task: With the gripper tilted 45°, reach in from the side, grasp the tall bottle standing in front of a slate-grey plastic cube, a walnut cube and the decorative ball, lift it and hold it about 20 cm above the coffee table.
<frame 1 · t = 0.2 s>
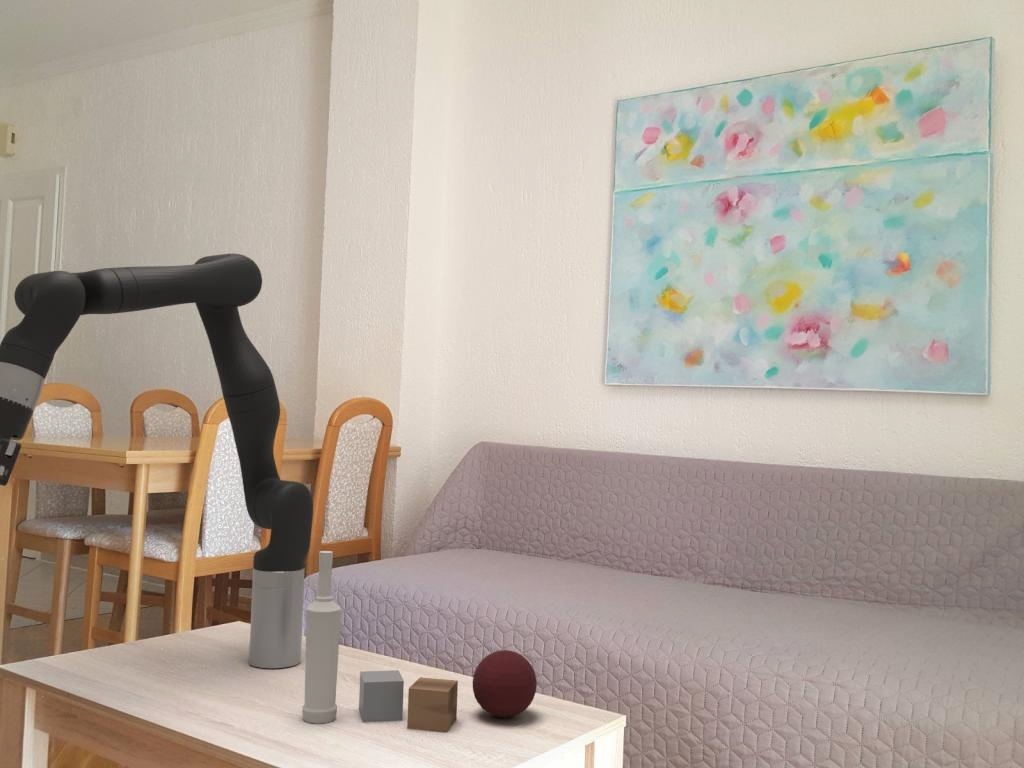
bottle: (319, 719, 140), on the table
slate grey cube: (380, 715, 143), on the table
walnut cube: (432, 724, 139), on the table
decorative ball: (503, 717, 144), on the table
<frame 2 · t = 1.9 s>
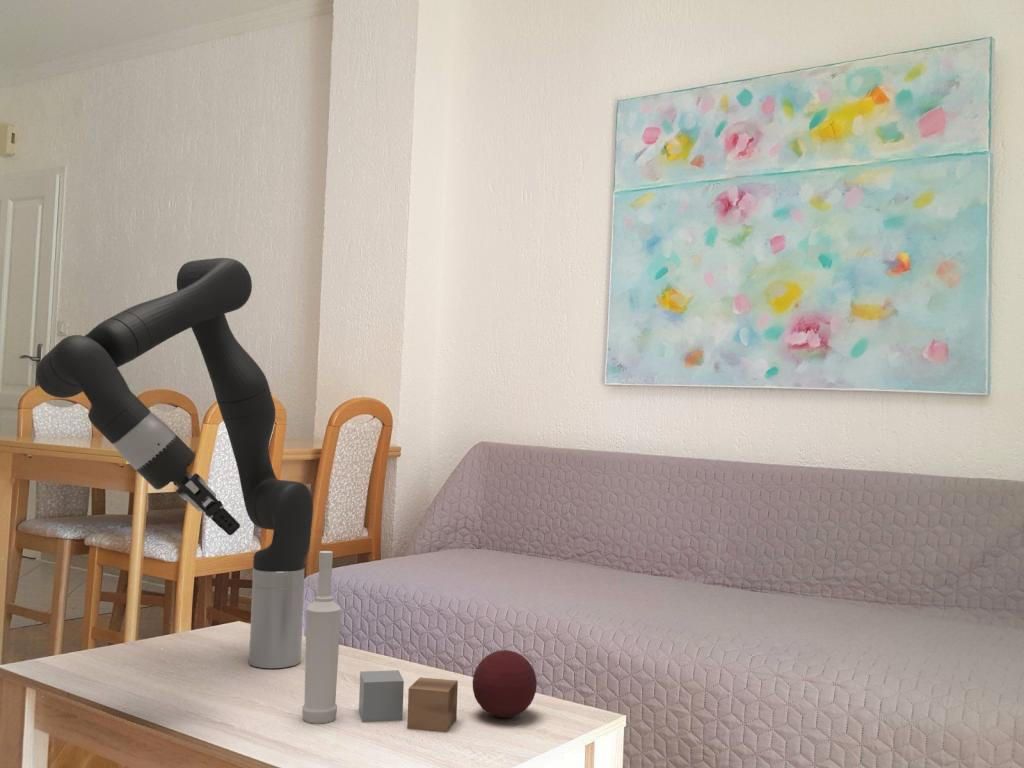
hand: (231, 527, 141), 28 cm above the table, tool tilted 45°, fingers open, 8 cm apart
nothing on the table moved.
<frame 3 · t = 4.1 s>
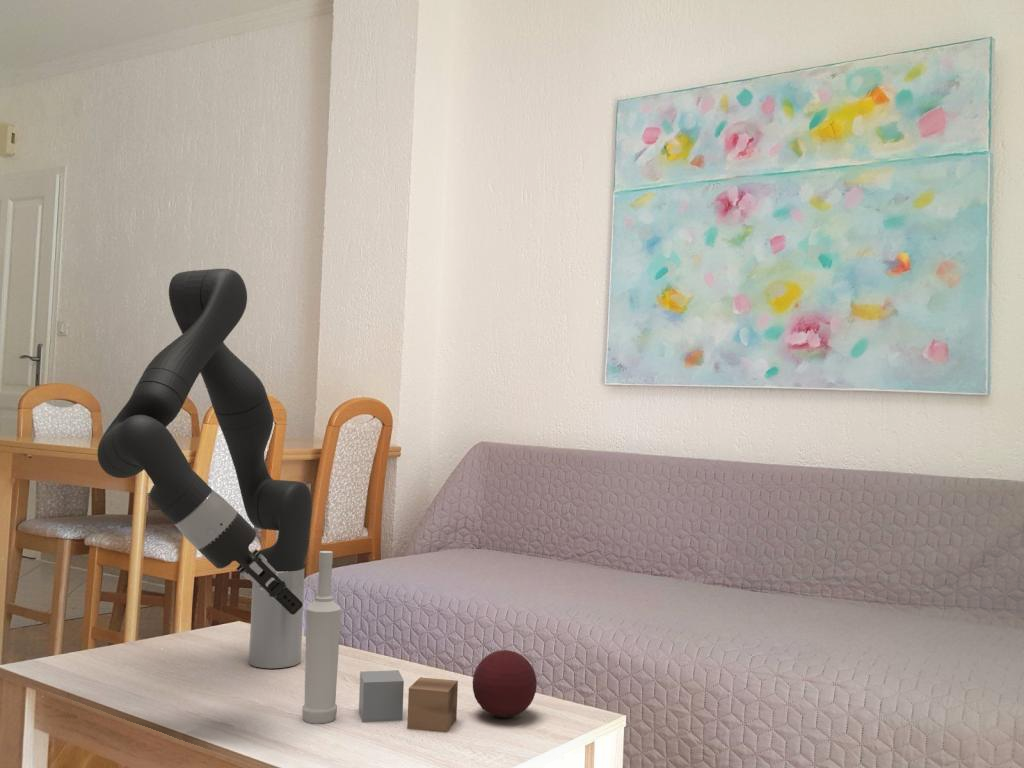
hand: (291, 604, 139), 17 cm above the table, tool tilted 45°, fingers open, 8 cm apart
nothing on the table moved.
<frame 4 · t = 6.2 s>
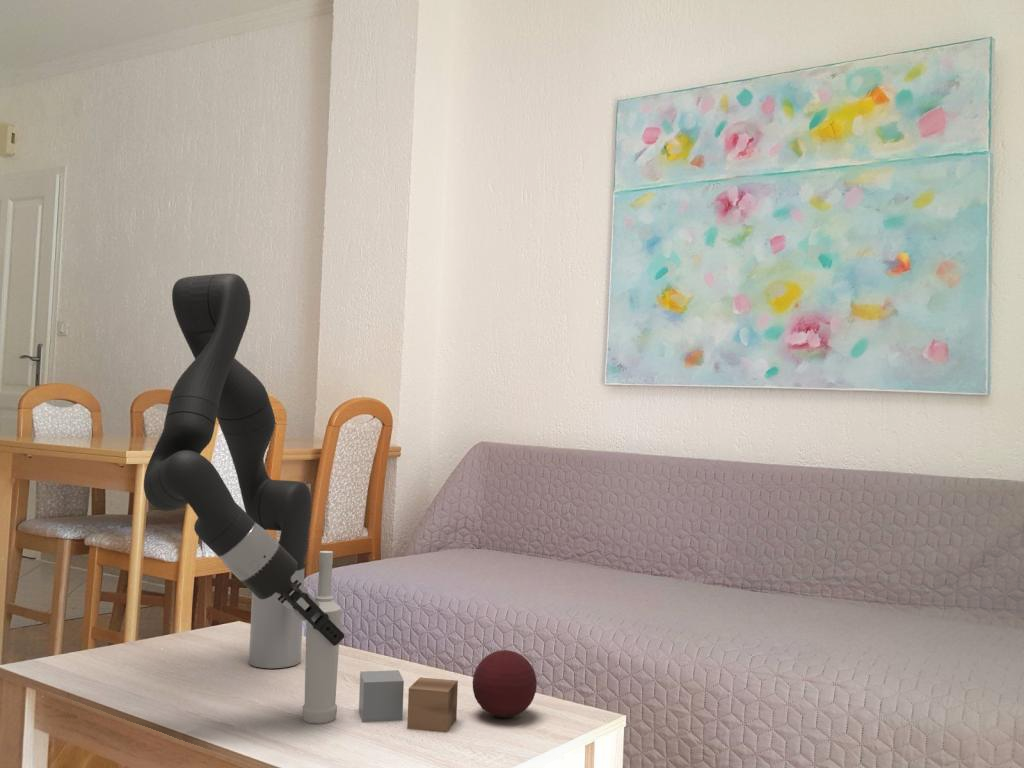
hand: (334, 636, 141), 12 cm above the table, tool tilted 45°, fingers closed on bottle, 5 cm apart
bottle: (319, 719, 140), on the table, touching gripper
everything else where it was.
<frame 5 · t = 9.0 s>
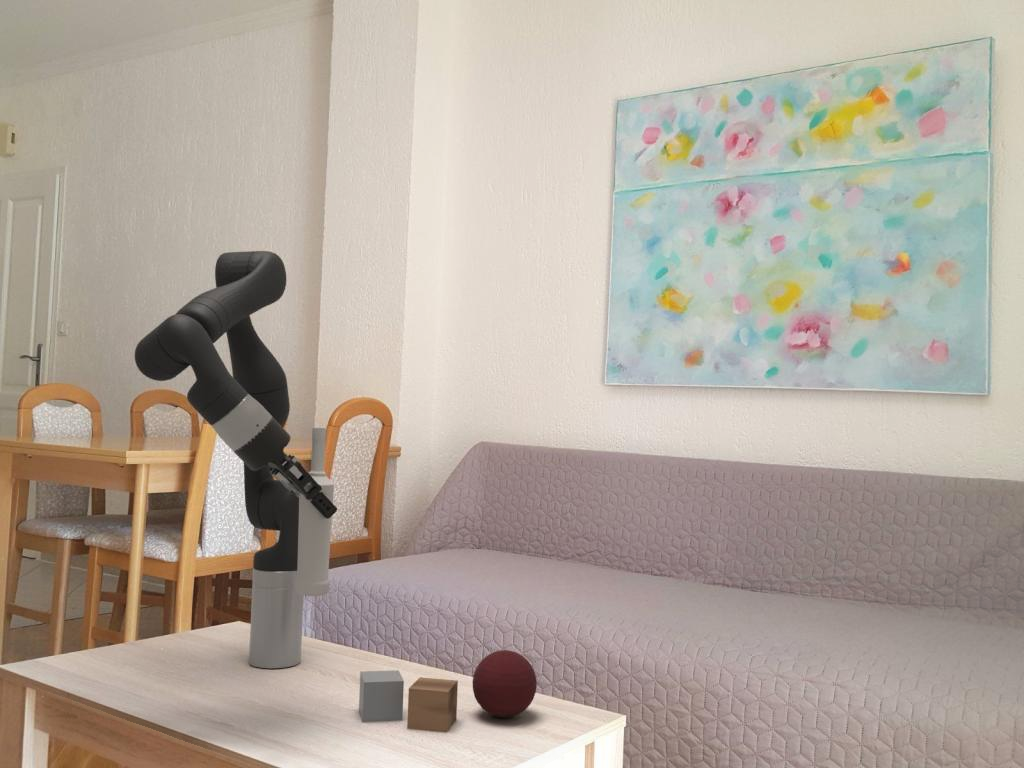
hand: (327, 511, 142), 31 cm above the table, tool tilted 45°, fingers closed on bottle, 5 cm apart
bottle: (311, 594, 141), point 19 cm above the table, touching gripper
everything else where it was.
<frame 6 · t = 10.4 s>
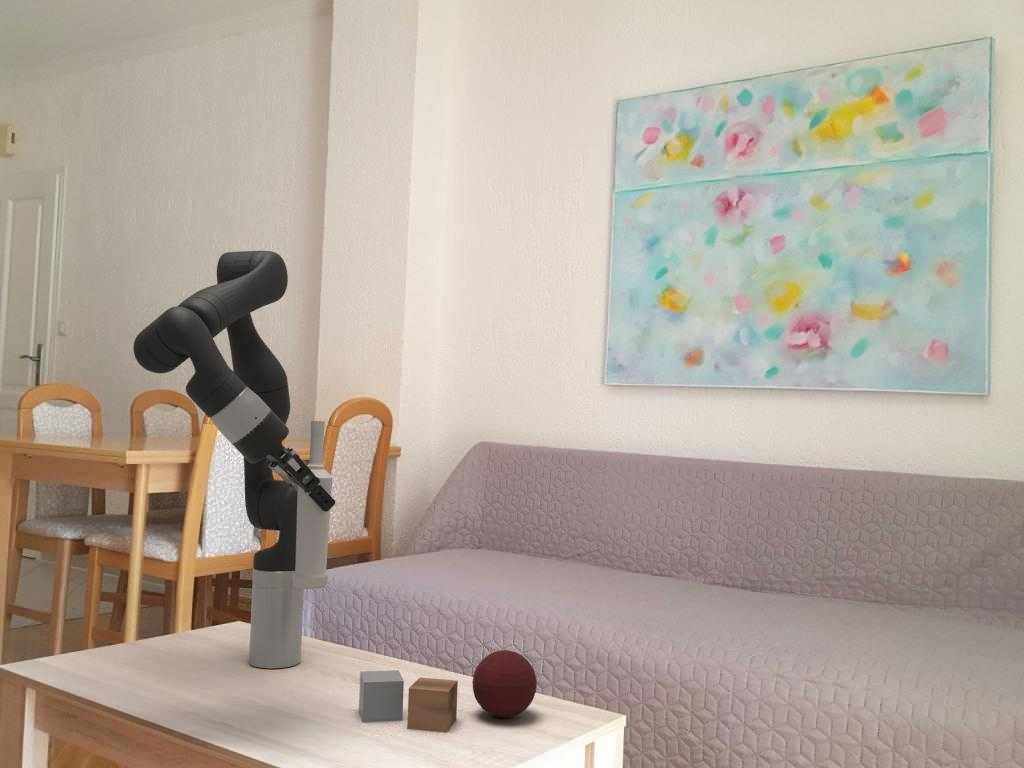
hand: (325, 505, 142), 32 cm above the table, tool tilted 45°, fingers closed on bottle, 5 cm apart
bottle: (310, 587, 141), point 20 cm above the table, touching gripper
everything else where it was.
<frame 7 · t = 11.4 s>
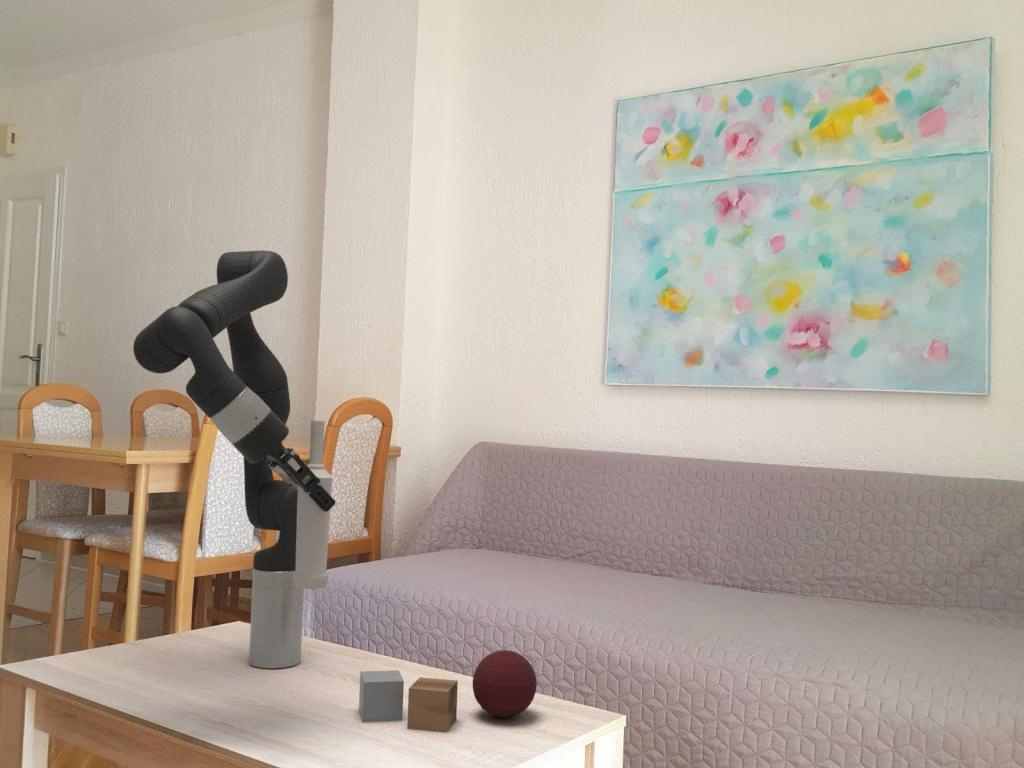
hand: (325, 505, 142), 32 cm above the table, tool tilted 45°, fingers closed on bottle, 5 cm apart
bottle: (310, 587, 141), point 20 cm above the table, touching gripper
everything else where it was.
at the end: the gripper is holding bottle; bottle point 19.6 cm above the table; slate grey cube moved 0.1 cm from its start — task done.
